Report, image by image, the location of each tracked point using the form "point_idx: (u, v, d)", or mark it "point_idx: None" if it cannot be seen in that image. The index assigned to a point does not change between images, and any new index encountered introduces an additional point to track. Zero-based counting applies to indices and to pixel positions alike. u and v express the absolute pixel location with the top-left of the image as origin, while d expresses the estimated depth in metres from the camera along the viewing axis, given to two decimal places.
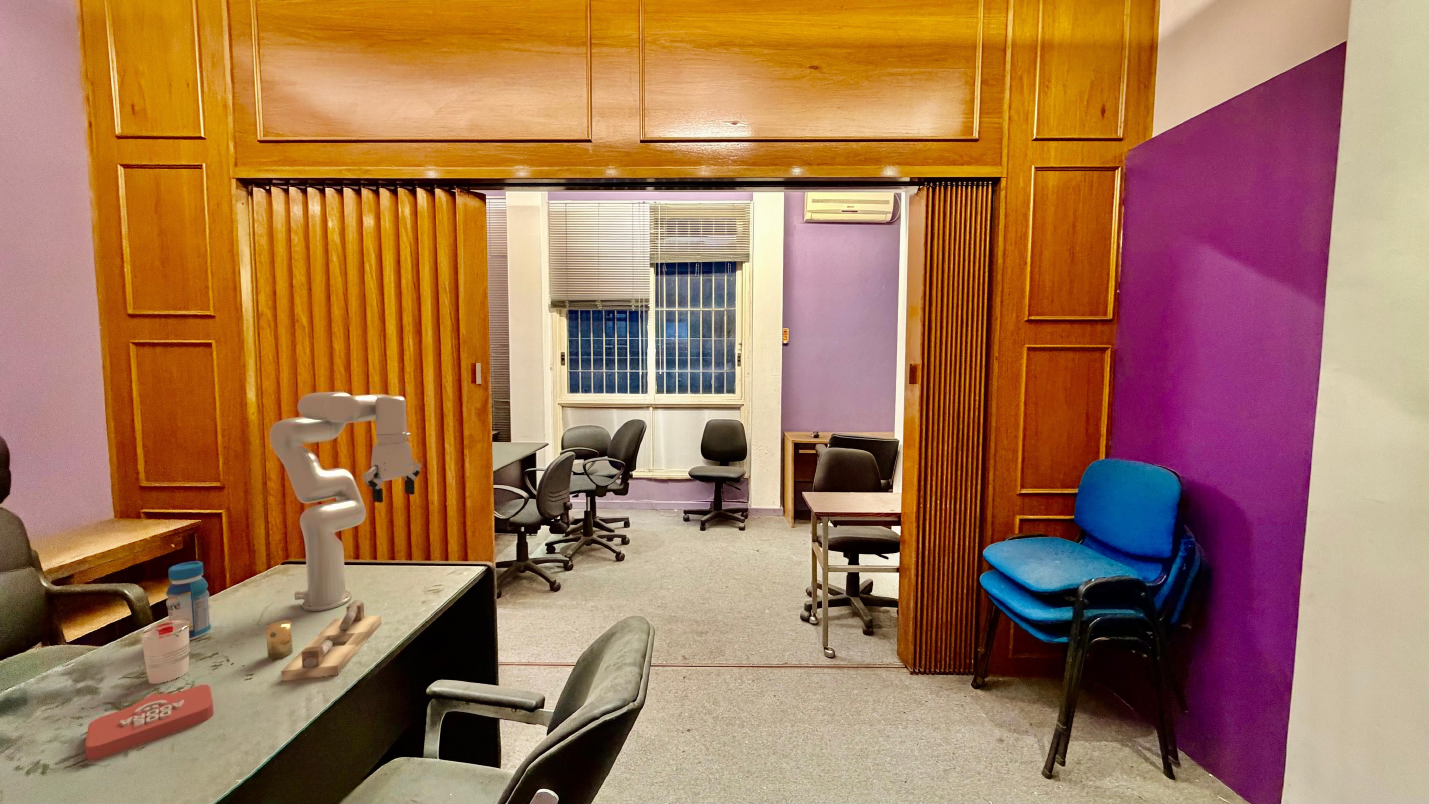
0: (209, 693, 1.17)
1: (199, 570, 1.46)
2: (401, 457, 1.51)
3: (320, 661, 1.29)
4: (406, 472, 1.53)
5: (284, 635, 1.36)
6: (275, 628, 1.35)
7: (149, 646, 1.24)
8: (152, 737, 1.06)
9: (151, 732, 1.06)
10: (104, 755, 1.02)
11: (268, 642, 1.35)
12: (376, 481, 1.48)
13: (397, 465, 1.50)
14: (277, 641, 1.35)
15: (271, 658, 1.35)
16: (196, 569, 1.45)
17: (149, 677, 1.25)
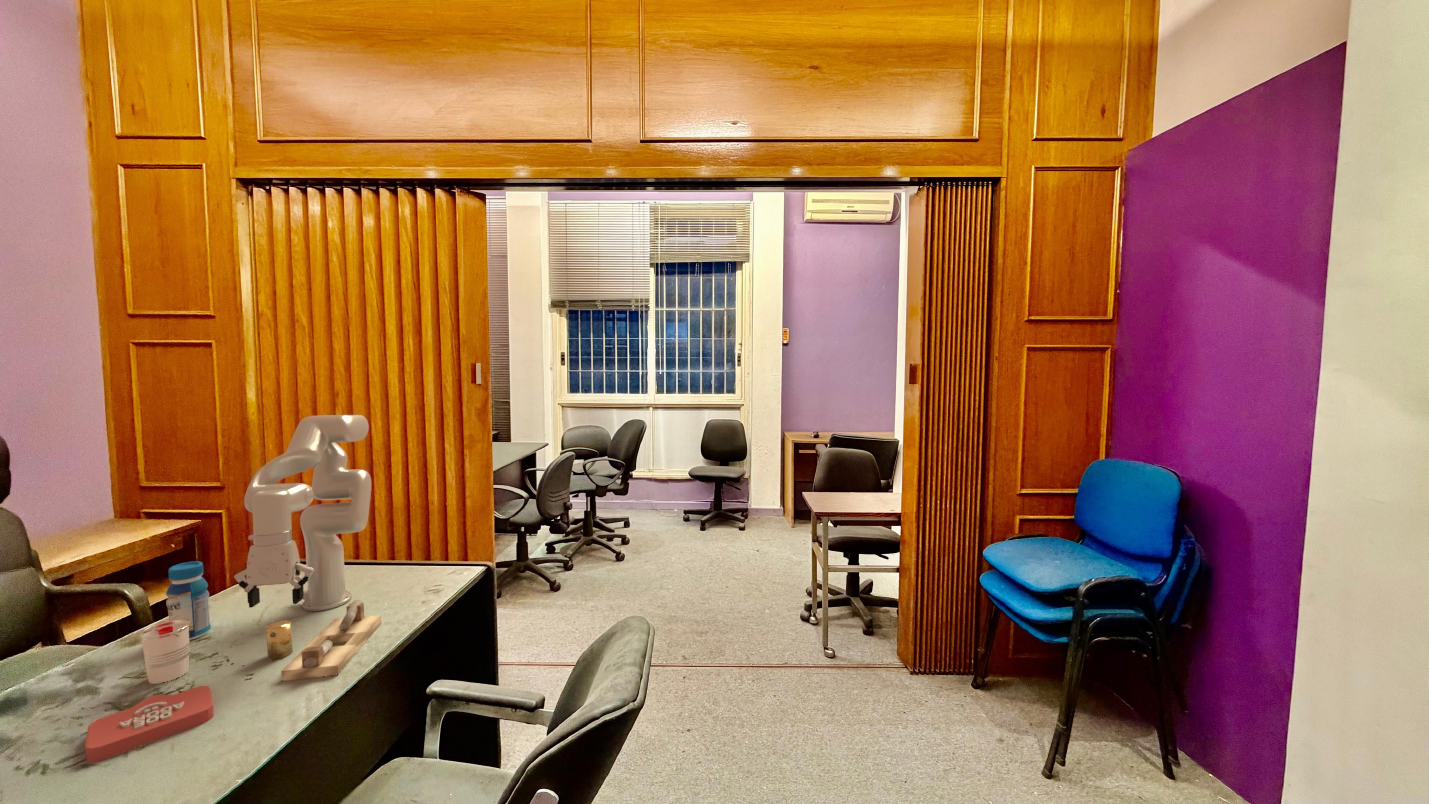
0: (209, 694, 1.17)
1: (199, 570, 1.46)
2: None
3: (320, 661, 1.29)
4: None
5: (284, 635, 1.36)
6: (275, 628, 1.35)
7: (150, 646, 1.24)
8: (152, 739, 1.06)
9: (151, 733, 1.06)
10: (104, 757, 1.01)
11: (268, 642, 1.35)
12: None
13: None
14: (277, 641, 1.35)
15: (271, 658, 1.35)
16: (196, 569, 1.45)
17: (149, 677, 1.25)
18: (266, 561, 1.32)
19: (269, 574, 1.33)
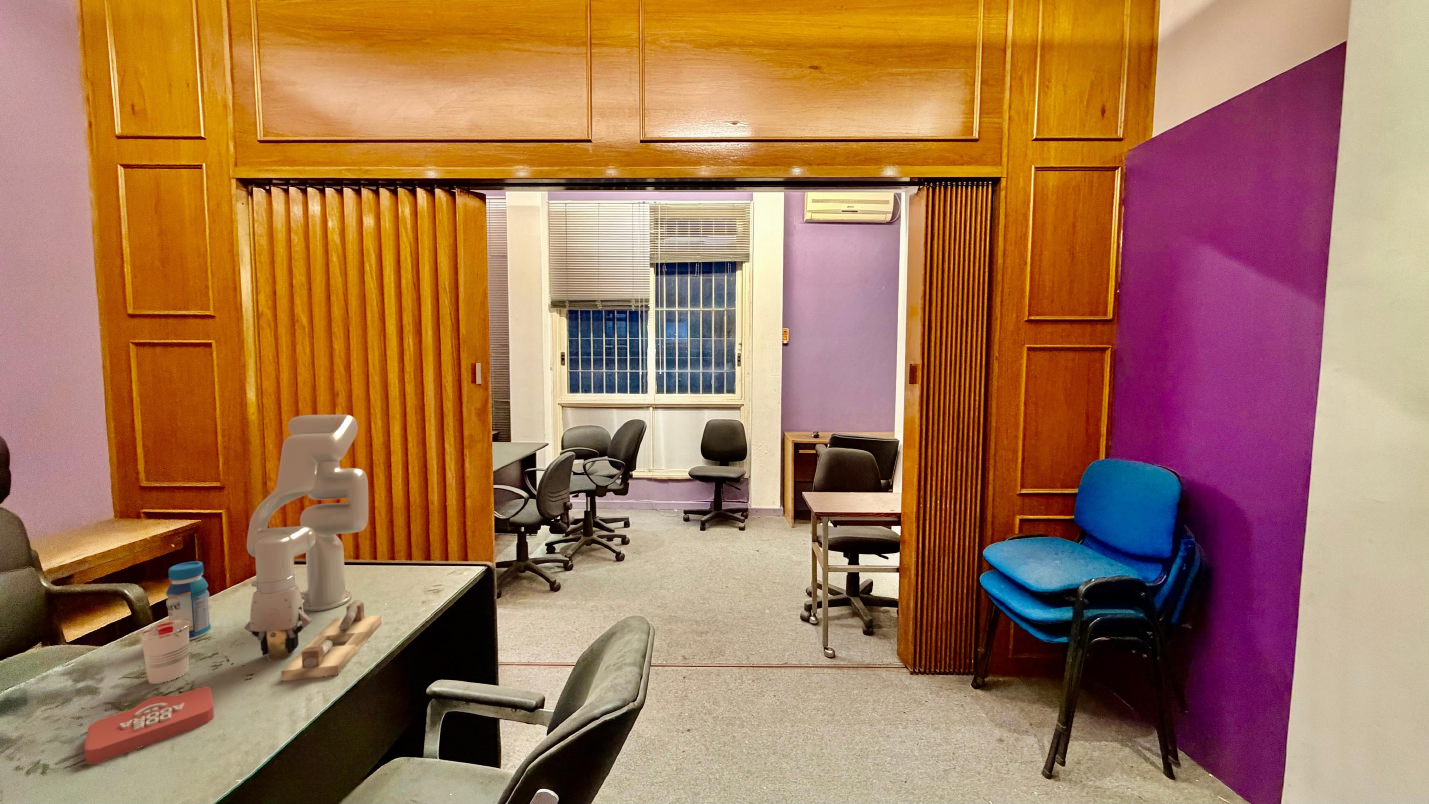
0: (210, 696, 1.16)
1: (199, 570, 1.46)
2: None
3: (320, 661, 1.29)
4: None
5: (284, 635, 1.36)
6: None
7: (150, 646, 1.24)
8: (152, 740, 1.06)
9: (150, 735, 1.05)
10: (103, 758, 1.01)
11: (268, 642, 1.35)
12: None
13: None
14: (277, 641, 1.35)
15: (271, 658, 1.35)
16: (196, 569, 1.45)
17: (149, 677, 1.25)
18: (269, 607, 1.34)
19: (272, 620, 1.34)
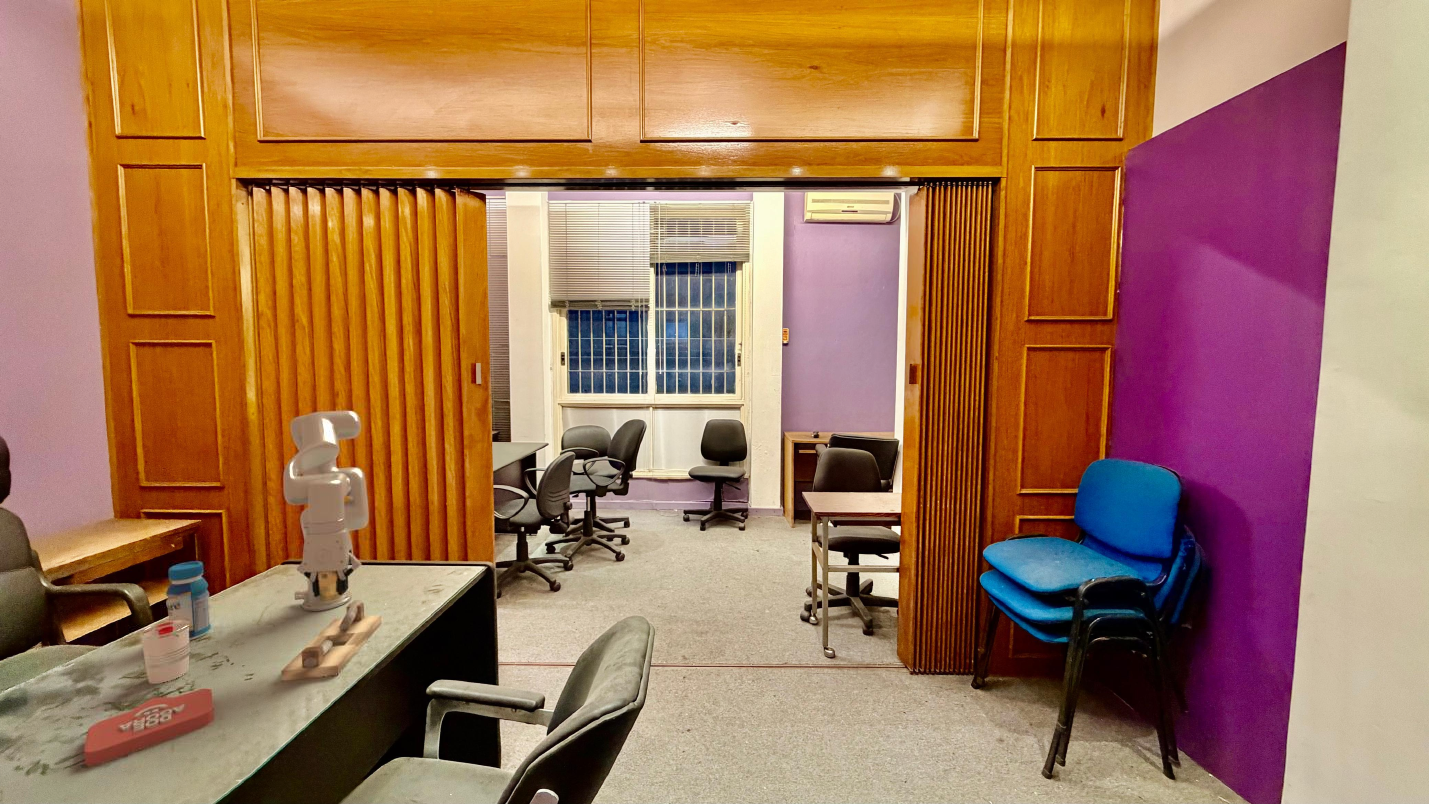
0: (210, 697, 1.16)
1: (199, 570, 1.46)
2: None
3: (320, 661, 1.29)
4: None
5: (334, 577, 1.37)
6: None
7: (150, 646, 1.24)
8: (152, 742, 1.05)
9: (150, 737, 1.05)
10: (103, 760, 1.00)
11: (319, 583, 1.36)
12: None
13: None
14: (328, 582, 1.36)
15: (322, 599, 1.36)
16: (196, 569, 1.45)
17: (149, 677, 1.25)
18: (321, 548, 1.35)
19: (324, 561, 1.35)
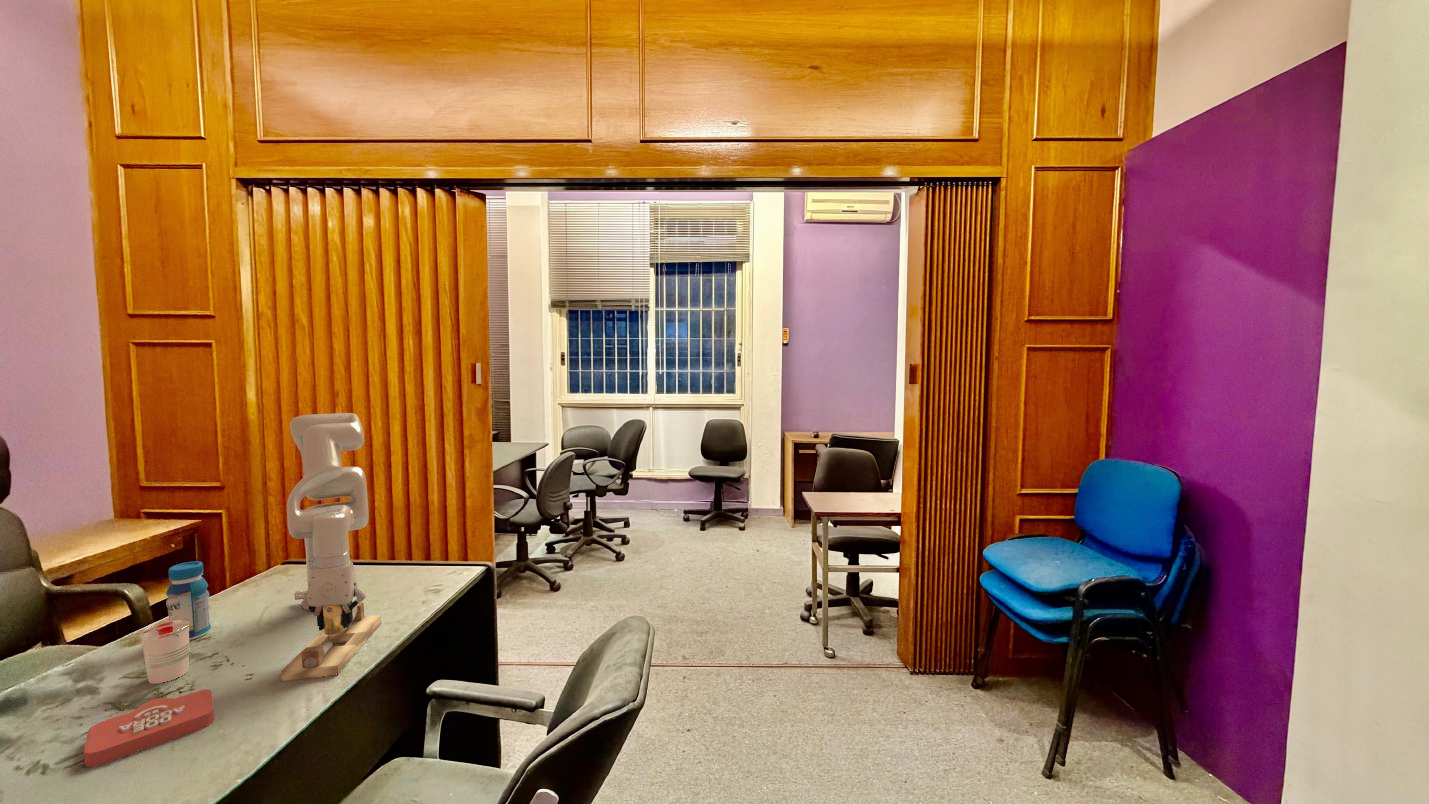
0: (210, 698, 1.15)
1: (199, 570, 1.46)
2: None
3: (320, 661, 1.29)
4: None
5: (339, 610, 1.38)
6: None
7: (150, 646, 1.24)
8: (151, 743, 1.05)
9: (150, 738, 1.05)
10: (102, 762, 1.00)
11: (324, 617, 1.37)
12: None
13: None
14: (333, 616, 1.37)
15: (327, 633, 1.37)
16: (196, 569, 1.45)
17: (149, 677, 1.25)
18: (326, 582, 1.36)
19: (329, 595, 1.36)
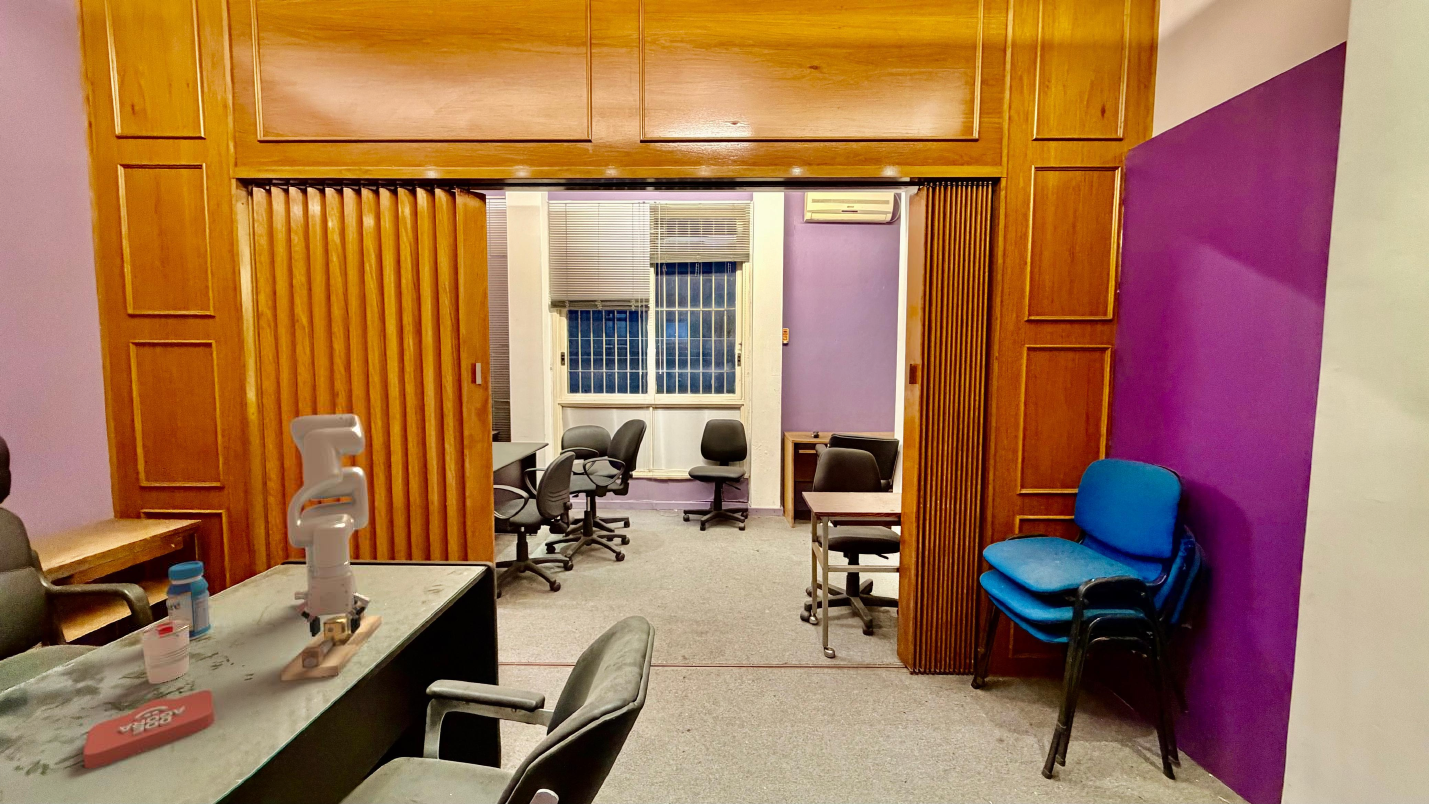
0: (210, 699, 1.15)
1: (199, 570, 1.46)
2: None
3: (320, 661, 1.29)
4: None
5: (340, 630, 1.39)
6: (331, 623, 1.38)
7: (149, 646, 1.24)
8: (151, 745, 1.04)
9: (150, 740, 1.04)
10: (102, 763, 1.00)
11: (325, 637, 1.38)
12: None
13: None
14: (334, 635, 1.38)
15: None
16: (196, 569, 1.45)
17: (149, 677, 1.25)
18: (327, 592, 1.36)
19: (330, 605, 1.36)
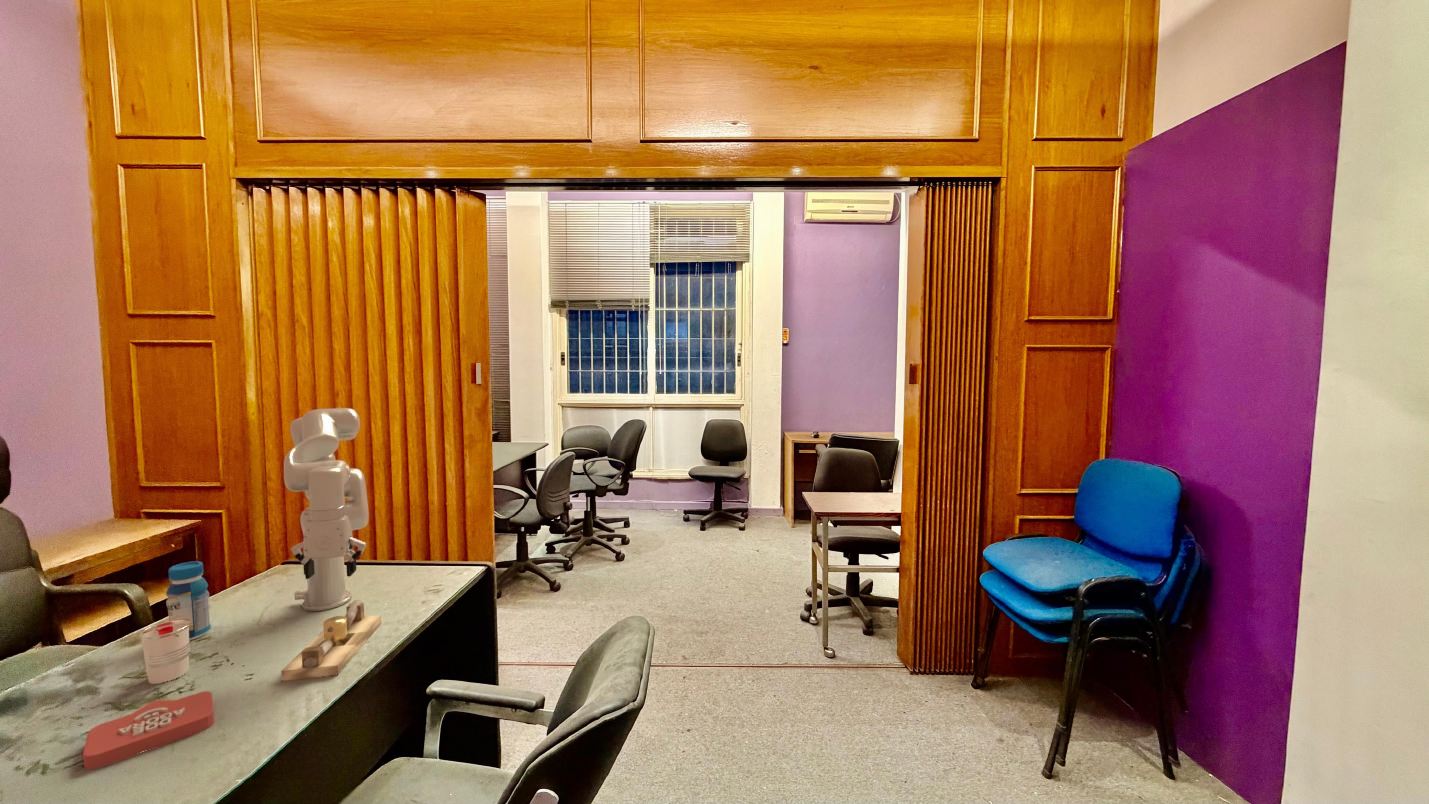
0: (210, 700, 1.15)
1: (199, 570, 1.46)
2: None
3: (320, 661, 1.29)
4: None
5: (340, 630, 1.39)
6: (331, 623, 1.38)
7: (149, 646, 1.24)
8: (151, 746, 1.04)
9: (149, 741, 1.04)
10: (102, 765, 0.99)
11: (325, 637, 1.38)
12: None
13: None
14: (334, 635, 1.38)
15: None
16: (196, 569, 1.45)
17: (149, 677, 1.25)
18: (322, 535, 1.37)
19: (325, 548, 1.37)
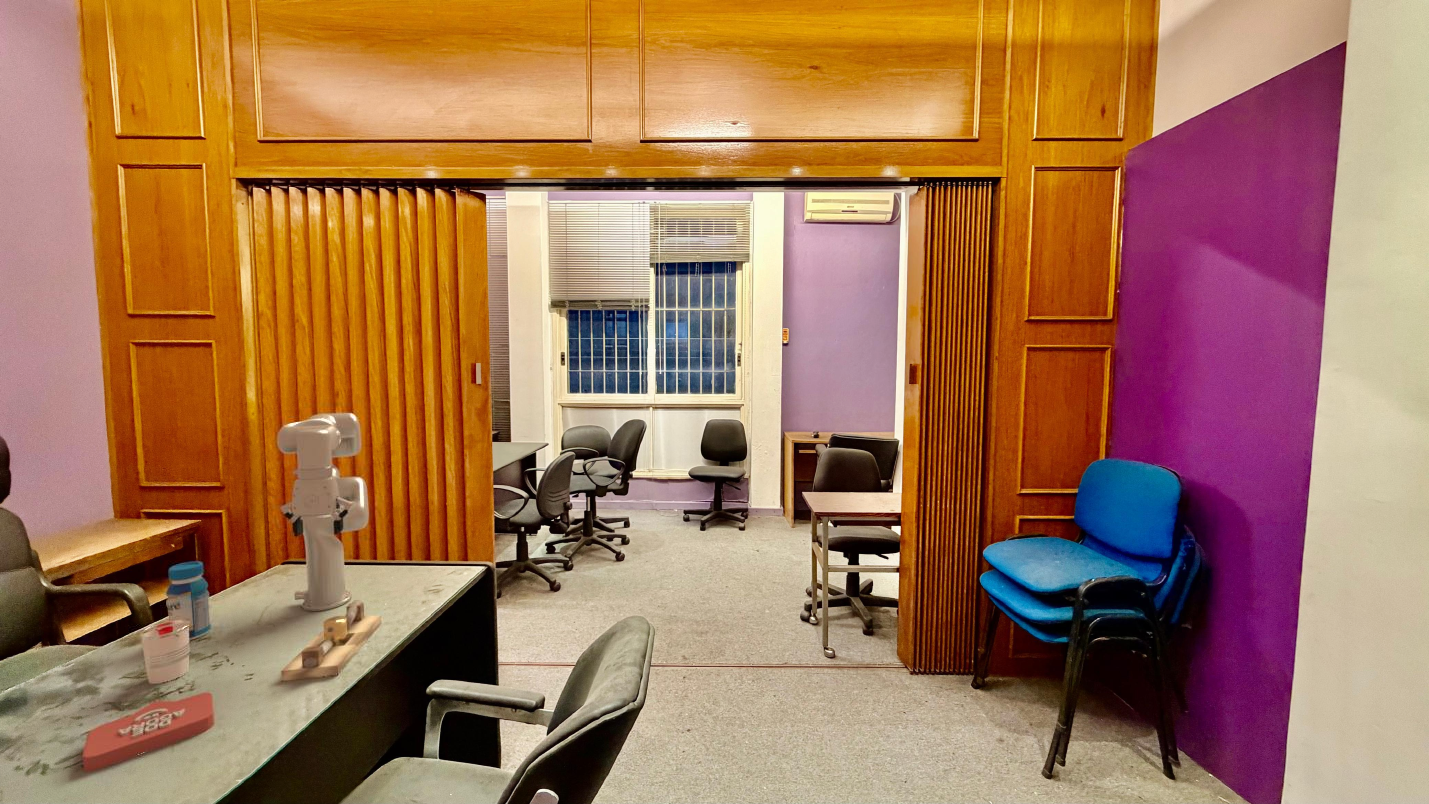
0: (210, 702, 1.14)
1: (199, 570, 1.46)
2: None
3: (320, 661, 1.29)
4: None
5: (340, 630, 1.39)
6: (332, 623, 1.38)
7: (149, 646, 1.24)
8: (150, 747, 1.04)
9: (149, 742, 1.03)
10: (101, 766, 0.99)
11: (325, 637, 1.38)
12: None
13: None
14: (334, 635, 1.38)
15: None
16: (196, 569, 1.45)
17: (149, 677, 1.25)
18: (310, 493, 1.43)
19: (313, 506, 1.44)
